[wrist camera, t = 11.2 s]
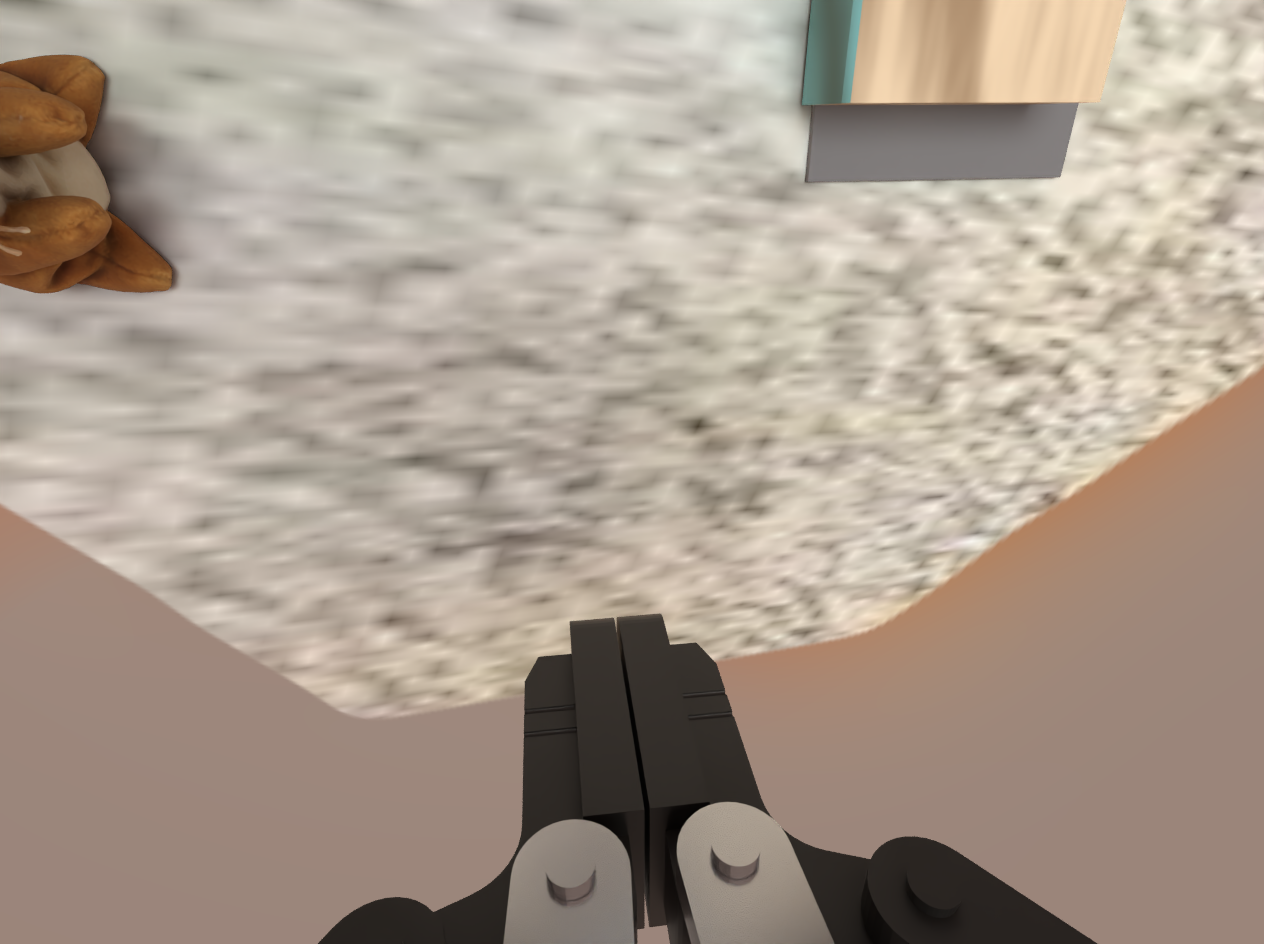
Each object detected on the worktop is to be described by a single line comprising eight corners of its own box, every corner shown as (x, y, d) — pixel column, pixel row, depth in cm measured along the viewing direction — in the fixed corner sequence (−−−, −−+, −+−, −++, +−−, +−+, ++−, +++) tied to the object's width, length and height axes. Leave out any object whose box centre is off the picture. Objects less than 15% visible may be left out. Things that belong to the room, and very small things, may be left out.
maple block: (841, 102, 30) (1099, 102, 31) (857, -40, 28) (1135, -35, 29) (801, 105, 34) (1029, 104, 36) (813, -18, 32) (1055, -14, 33)
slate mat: (805, 181, 36) (807, 181, 36) (833, -112, 31) (836, -115, 31) (1055, 176, 38) (1060, 177, 37) (1123, -104, 32) (1130, -107, 32)
